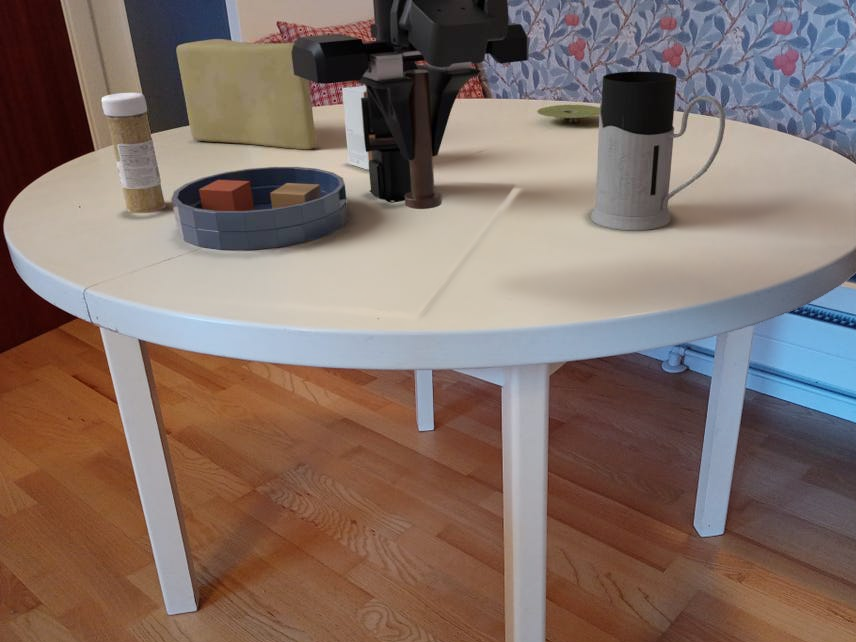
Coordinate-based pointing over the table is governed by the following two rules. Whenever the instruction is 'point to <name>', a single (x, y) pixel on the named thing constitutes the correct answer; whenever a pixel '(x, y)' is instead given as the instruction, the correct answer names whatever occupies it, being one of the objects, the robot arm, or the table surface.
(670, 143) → the glass holder
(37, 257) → the table surface
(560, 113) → the olive green disc
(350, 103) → the small box
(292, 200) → the wood block
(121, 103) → the sprinkles bottle
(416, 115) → the stirring stick
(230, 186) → the terracotta block
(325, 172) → the bowl
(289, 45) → the cheese
